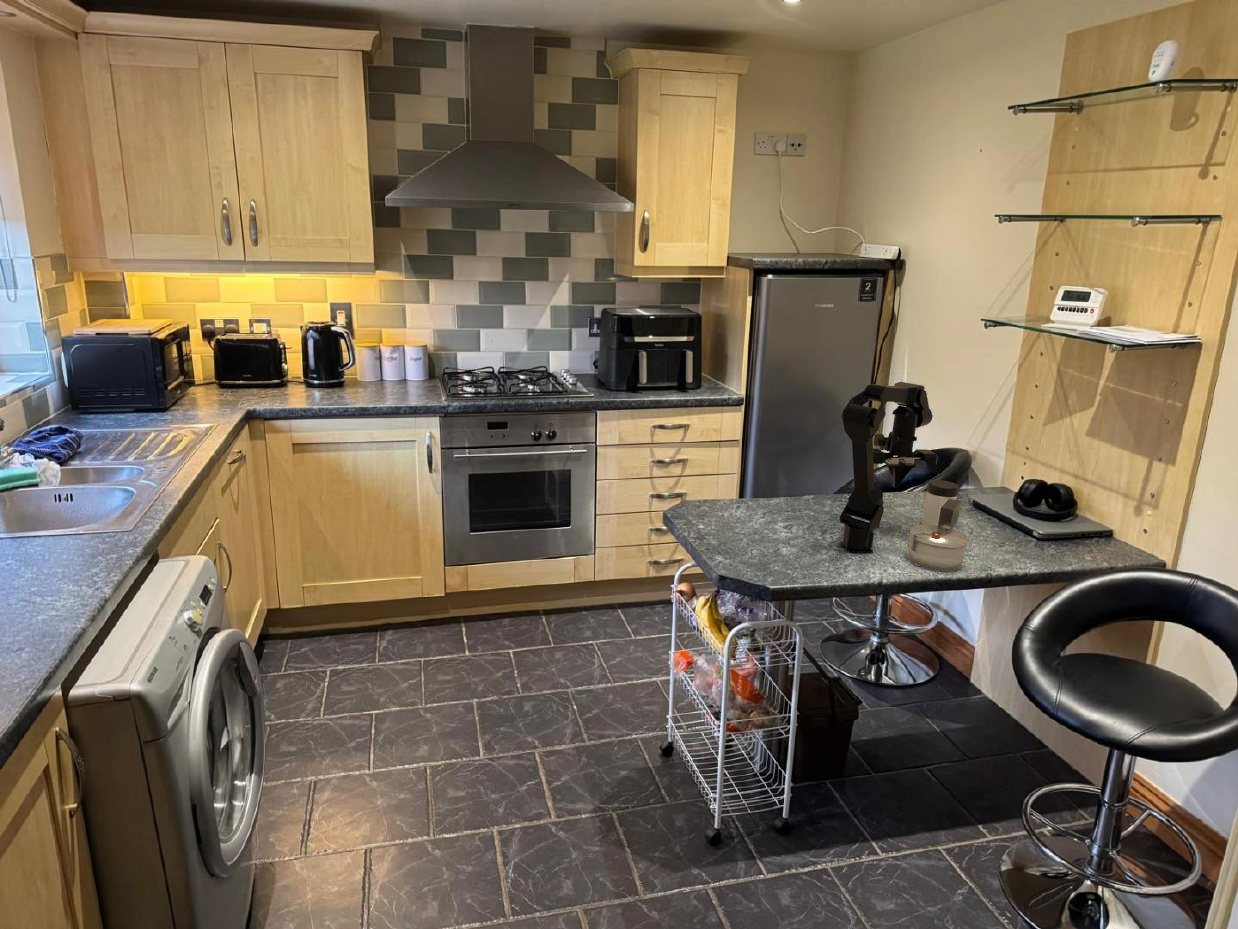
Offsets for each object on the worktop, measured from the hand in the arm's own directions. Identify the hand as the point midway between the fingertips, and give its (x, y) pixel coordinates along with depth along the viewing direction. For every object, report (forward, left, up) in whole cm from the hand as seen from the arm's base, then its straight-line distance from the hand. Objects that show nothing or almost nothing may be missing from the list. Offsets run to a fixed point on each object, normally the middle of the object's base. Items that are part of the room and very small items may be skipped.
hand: (895, 487), depth 224 cm
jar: (+18, +7, -13) cm, 23 cm away
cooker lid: (+6, -16, -7) cm, 19 cm away
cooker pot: (+5, -17, -13) cm, 22 cm away
